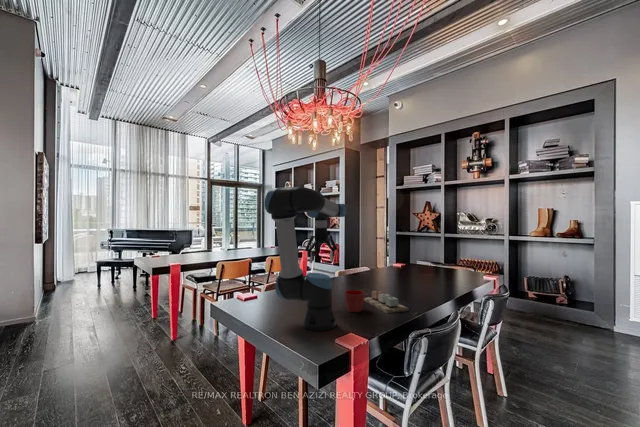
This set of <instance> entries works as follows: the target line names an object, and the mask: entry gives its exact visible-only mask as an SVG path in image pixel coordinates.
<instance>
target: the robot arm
mask: <svg viewBox="0 0 640 427" xmlns="http://www.w3.org/2000/svg"><path fill="white" fill-rule="evenodd" d="M264 209H265V211H266V213H268V214H269V215H271V216H270V217H271V219H272V220H273V221H274V222H275V230H276V238H277V245H278V253H279V261H280V271H279V272H278V276H276V278H275V283H274V289H275V293H276V295H277V297H279V298H280V299H282V300H286V301H300V302H306V310H305V313H304V316H303V322H302V325H303V327H304V328H305V330H309V331H317V332H322V331H324V332H325V331H330V330H331V329H334V328H335V327H336V325H337V320H336V317H335V316H336V315H335V314H334V311H333V303H332V302H333V298H332V296H333V293H332V292H333V290H332V288H333V285H332V278H331V277H330V276H329V275H327V274H324V273H320V272H309V273H307V274H306V275H304V271H303V269H302V268H300V264H299V263H300V262H299V253H298V244H297V235H296V227H295V226H296V225H295V220H296V218H297V216H298V214H297V213H306V215H307V216H308V217H309V218H313V219H314V227H315V228H314V235H310V236H309V240H308V242H307V245H306V246H305V248H304V251H305V252H307V257H308V258H309V264H313V252H312V251H313V249H315V247H316V246H317V244H318V243H319V244H321V243H325V245H326V246H327V247H328V248H329V249H330V251H329V260H330V262H331V263H333V262H334V257H335V251H337V250H338V247H337V246H336V243H335V241H334V239H333V235H332V234H329V235H328V228H327V227H328V218H344V217H346V215H347V205H346V204H345V203H336V202H334V201H332V200H330V199H328V198H326V197H325V196H324V194H322V193H321V192H320V191H318V190H315V189H312V188H309V187H305V186H289V187H287V186H286V187H284V186H283V187H274V188H270V190H268V191H267V193H266V195H265V197H264ZM328 239H329V241H328ZM313 240H314V241H313Z"/></svg>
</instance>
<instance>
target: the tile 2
mask: <svg viewBox="0 0 640 427" xmlns="http://www.w3.org/2000/svg"><path fill="white" fill-rule="evenodd" d="M385 301H386V303H385V304H386V305H388V306H398V303H399V298H397V297H395V296H391V297H385Z"/></svg>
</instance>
